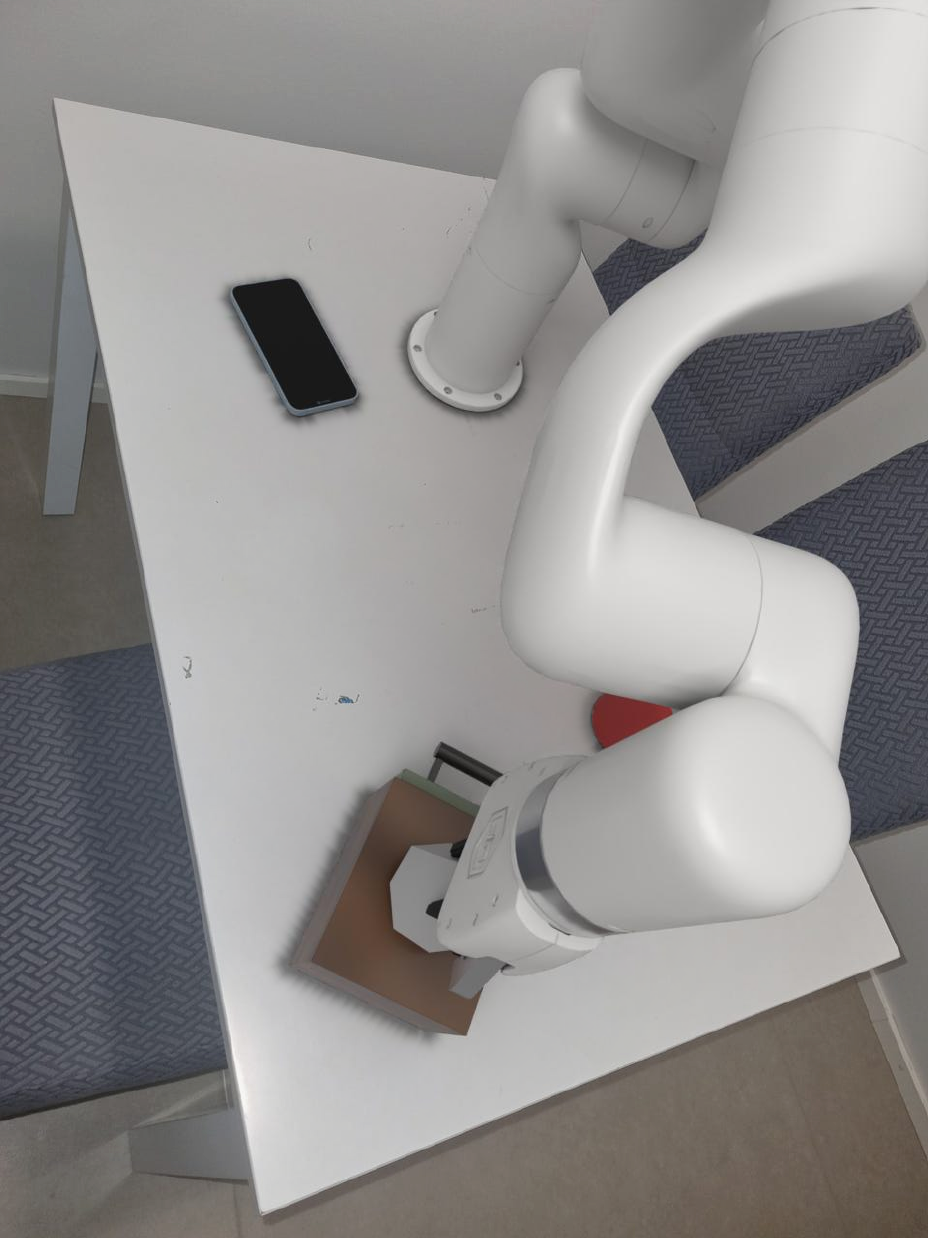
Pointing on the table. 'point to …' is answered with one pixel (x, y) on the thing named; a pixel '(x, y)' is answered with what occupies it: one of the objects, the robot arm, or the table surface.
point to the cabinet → (385, 915)
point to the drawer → (458, 762)
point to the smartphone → (293, 345)
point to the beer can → (624, 717)
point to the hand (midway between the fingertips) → (460, 889)
